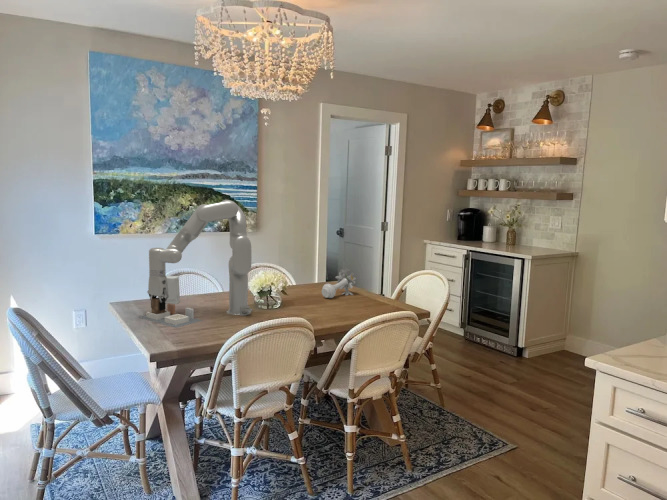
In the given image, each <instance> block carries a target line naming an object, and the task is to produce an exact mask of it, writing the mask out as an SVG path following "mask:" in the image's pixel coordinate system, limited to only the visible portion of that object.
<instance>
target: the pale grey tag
mask: <svg viewBox="0 0 667 500" xmlns="http://www.w3.org/2000/svg"><path fill="white" fill-rule="evenodd" d="M194 310H195V309H194V308H192V307H191V308H190V307H185V316H188V317H189V319H191V320H192V319H194V317H195V316H194V315H195V314H194V313H195V312H194Z"/></svg>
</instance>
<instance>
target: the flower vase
mask: <svg viewBox="0 0 667 500" xmlns="http://www.w3.org/2000/svg"><path fill="white" fill-rule="evenodd" d="M351 270H352V268H351V269H349V268H348V267H345V268H344V269H339V272H338V275H336V276H335V277H334V278H335V279H336V280H337V281H336V282H337V283H335V284H331V283H325V284H324V285H323V286H322V289H321V295H322V297H324V298H326V299H327V298H328V299H333V298H334V297H335V296H336V292H337V290H338V289H339V290H343V289H344V292H342V293H341V295H345V296H349V295H351V296H354V294H353V292H350V291H349V290H350V289H353V285H355V284H356V281H355V280H356V279H357V278H356V276H354V275H355V274H354V271H352V272H351V273H350V272H349V271H351ZM348 272H349V273H350V274H349V273H348Z"/></svg>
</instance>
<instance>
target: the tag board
mask: <svg viewBox="0 0 667 500" xmlns="http://www.w3.org/2000/svg"><path fill="white" fill-rule="evenodd" d="M138 318H140V319H143V320H147V321H150V322H152V323H153V322H154V323H156V324H161V325H165V326H168V327H171V328H174V329H177V328H180V327H185V326H187V325H192V324H195V323H199V322H202V321H203V320H202V319H199V318H194V319H192V320H191V319H189V317H188V316H186V314H185V315H184V314H179V313H176V312H175V314H174V315H172V314H170V312H169V311H167V310H165V313H161V314H153V313H152V310H149V311H146V313H145V315H144V314H143V315H139V316H138Z"/></svg>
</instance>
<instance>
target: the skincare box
mask: <svg viewBox="0 0 667 500" xmlns="http://www.w3.org/2000/svg"><path fill="white" fill-rule="evenodd" d="M166 277H167V282H168V295H169V297H168V298H167V300H166V302H165V305H167V304H168V303H171V304H175V305H178V304H179V303H180V302H181V298H180V297H181V296H180V293H181V292H180V277H179V275H166ZM162 296H163V295H162ZM162 298H163V297H162Z"/></svg>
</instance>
